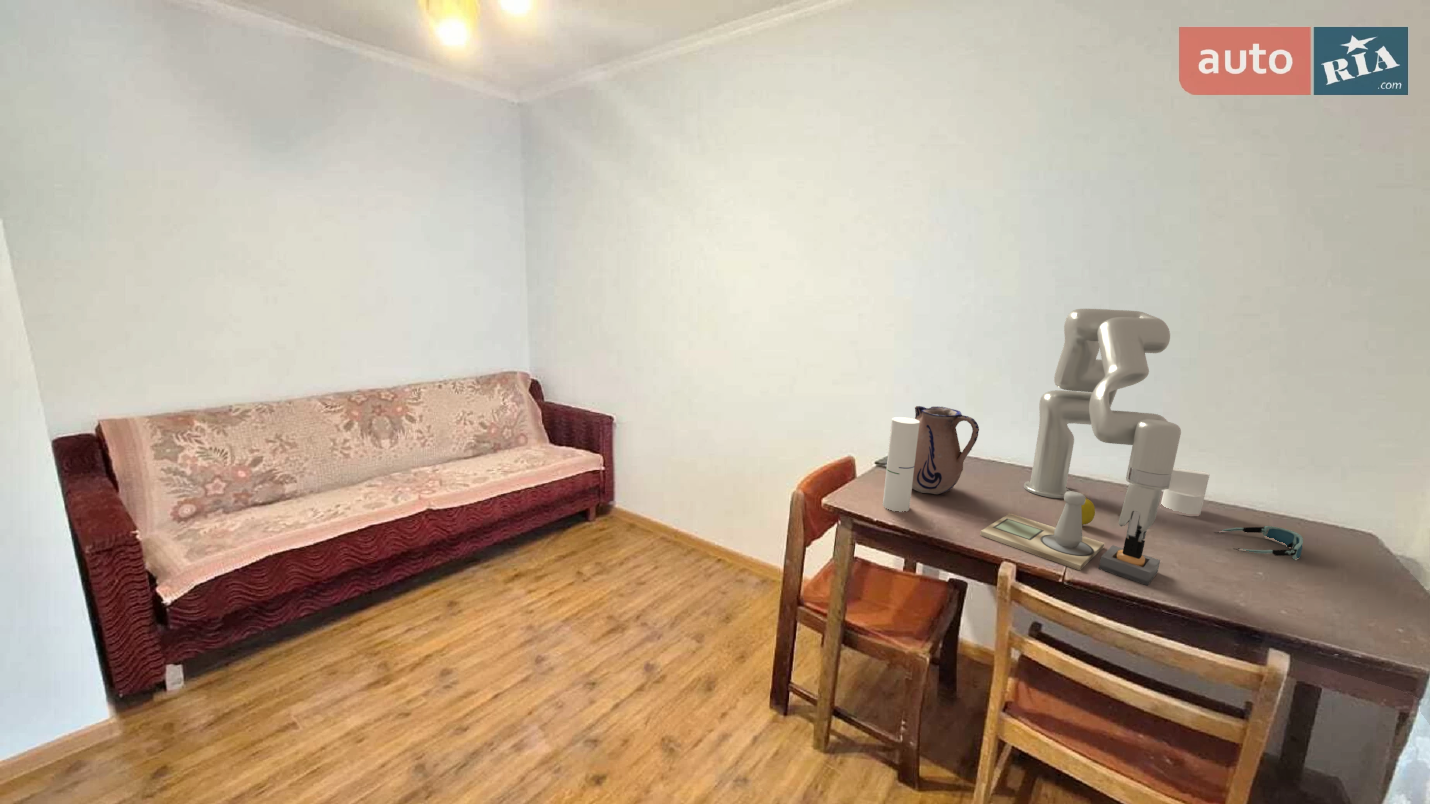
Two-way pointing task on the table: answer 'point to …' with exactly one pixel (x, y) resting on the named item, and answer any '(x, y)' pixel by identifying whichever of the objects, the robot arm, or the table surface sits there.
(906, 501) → the cylindrical container
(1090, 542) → the picture board
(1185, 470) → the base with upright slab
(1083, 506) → the lemon
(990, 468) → the table surface
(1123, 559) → the button
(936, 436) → the ceramic pitcher
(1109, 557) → the button housing
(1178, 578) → the table surface
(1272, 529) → the sunglasses
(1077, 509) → the salt shaker
